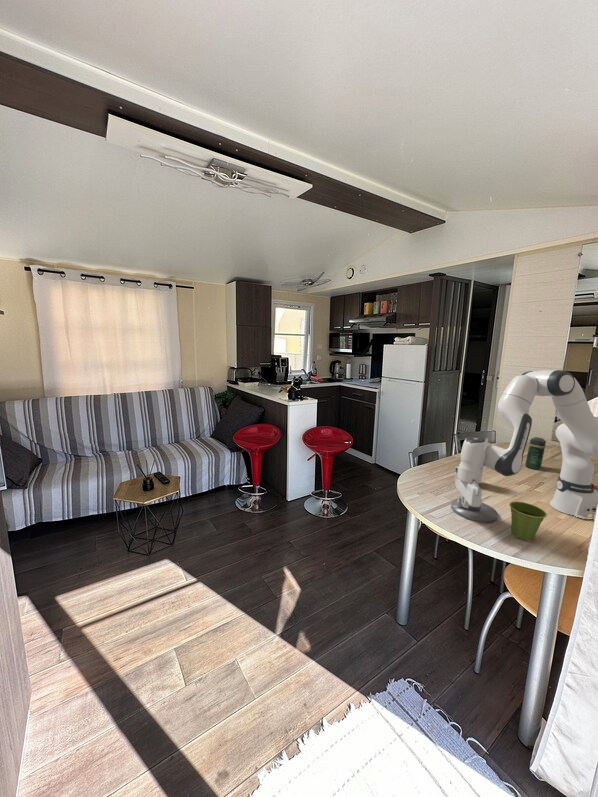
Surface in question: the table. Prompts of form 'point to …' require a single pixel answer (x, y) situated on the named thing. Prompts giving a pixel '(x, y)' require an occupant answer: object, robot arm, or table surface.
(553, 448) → the table surface
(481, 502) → the dial
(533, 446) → the coffee jar
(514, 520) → the plant pot
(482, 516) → the dial plate
